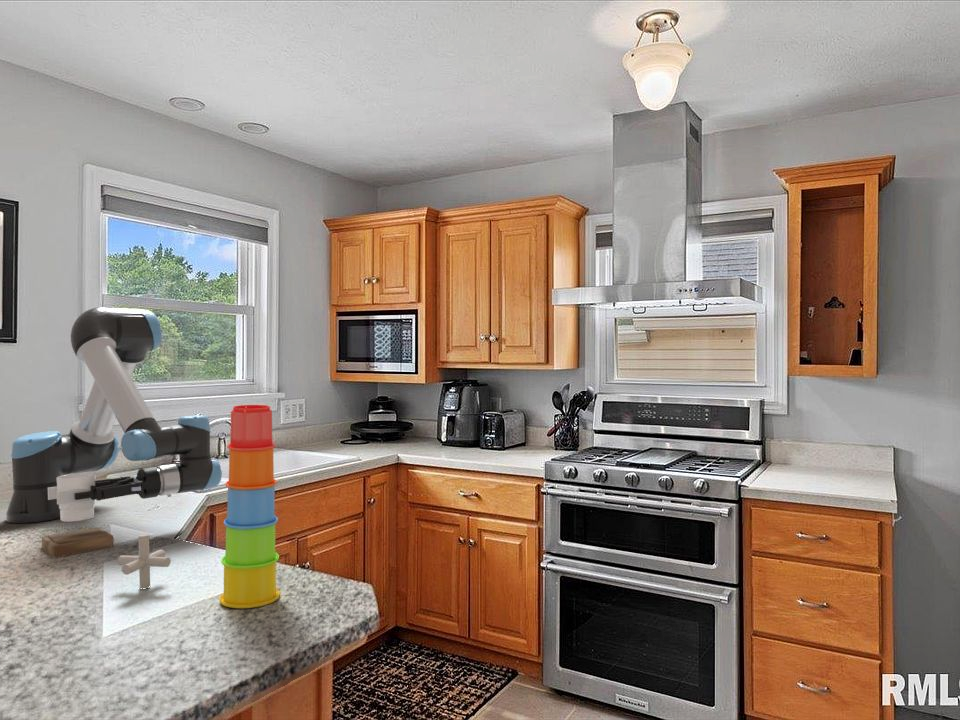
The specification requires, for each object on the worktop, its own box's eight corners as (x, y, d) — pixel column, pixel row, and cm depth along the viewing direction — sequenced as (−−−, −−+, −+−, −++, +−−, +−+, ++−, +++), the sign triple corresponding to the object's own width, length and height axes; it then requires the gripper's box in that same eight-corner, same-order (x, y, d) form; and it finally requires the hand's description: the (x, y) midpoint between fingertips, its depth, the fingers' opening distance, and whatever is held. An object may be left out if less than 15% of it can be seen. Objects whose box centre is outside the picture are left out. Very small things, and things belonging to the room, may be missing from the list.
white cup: (60, 517, 165) (58, 474, 165) (98, 513, 168) (96, 471, 168) (55, 524, 158) (54, 479, 158) (95, 519, 161) (94, 476, 161)
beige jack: (151, 598, 127) (149, 543, 127) (103, 595, 129) (101, 541, 129) (184, 580, 137) (183, 529, 137) (139, 578, 139) (138, 527, 139)
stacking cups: (275, 586, 132) (270, 402, 132) (284, 603, 123) (279, 405, 122) (217, 595, 128) (211, 405, 127) (222, 613, 118) (216, 409, 118)
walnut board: (41, 547, 164) (41, 535, 164) (98, 537, 172) (98, 526, 172) (54, 557, 155) (54, 545, 155) (113, 546, 163) (113, 534, 163)
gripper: (172, 501, 168) (64, 519, 152) (143, 491, 183) (42, 506, 167) (171, 470, 168) (63, 484, 152) (142, 462, 183) (41, 475, 167)
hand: (52, 496), depth 160 cm, fingers closed on white cup, 8 cm apart
